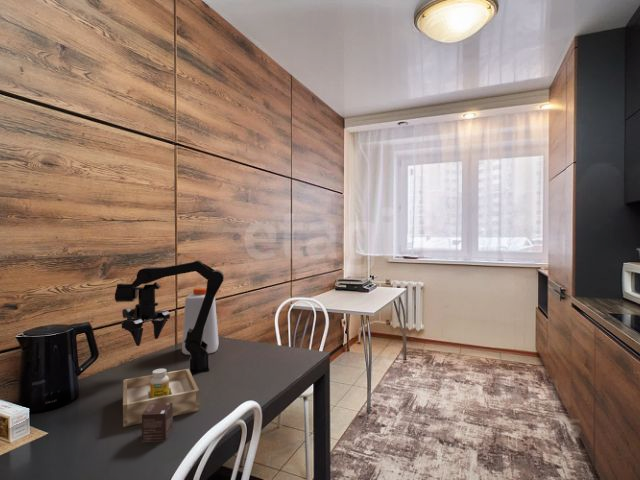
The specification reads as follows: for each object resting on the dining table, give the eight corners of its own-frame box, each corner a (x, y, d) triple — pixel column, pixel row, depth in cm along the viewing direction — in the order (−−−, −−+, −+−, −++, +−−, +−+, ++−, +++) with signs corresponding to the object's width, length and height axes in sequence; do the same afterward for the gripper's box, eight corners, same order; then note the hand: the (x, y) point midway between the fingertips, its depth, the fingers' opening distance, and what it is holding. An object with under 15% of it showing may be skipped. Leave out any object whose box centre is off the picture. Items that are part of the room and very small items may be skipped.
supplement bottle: (167, 396, 117) (167, 366, 117) (170, 402, 112) (170, 371, 112) (149, 400, 114) (148, 369, 114) (151, 407, 109) (151, 375, 109)
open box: (188, 385, 127) (188, 368, 127) (199, 410, 109) (199, 390, 109) (123, 398, 117) (123, 379, 117) (123, 427, 100) (123, 405, 99)
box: (150, 430, 98) (150, 403, 98) (173, 429, 99) (173, 402, 99) (141, 443, 92) (140, 414, 92) (165, 441, 93) (165, 413, 92)
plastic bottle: (180, 356, 157) (179, 291, 157) (186, 346, 172) (185, 286, 172) (216, 354, 160) (216, 290, 160) (219, 344, 175) (218, 285, 175)
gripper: (147, 295, 149) (148, 334, 149) (109, 304, 131) (109, 347, 131) (170, 297, 145) (171, 336, 146) (134, 306, 127) (134, 350, 128)
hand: (147, 342), depth 138 cm, fingers open, 9 cm apart
